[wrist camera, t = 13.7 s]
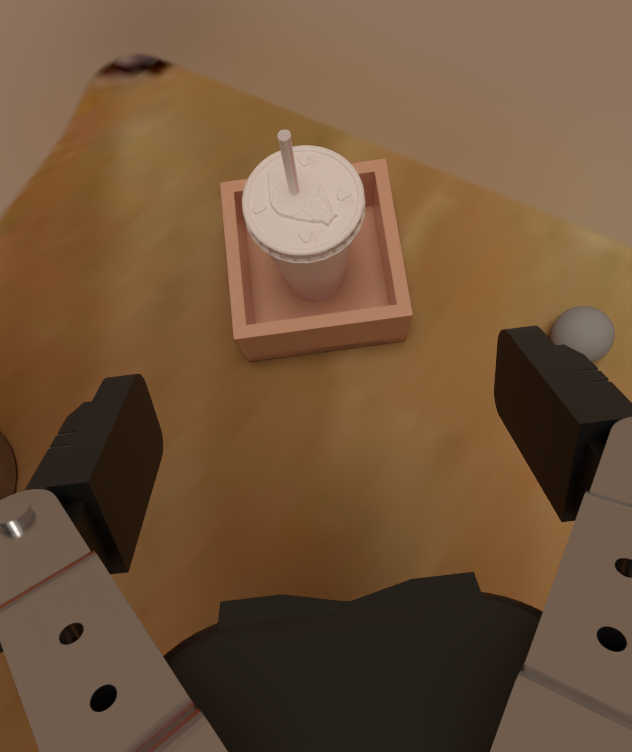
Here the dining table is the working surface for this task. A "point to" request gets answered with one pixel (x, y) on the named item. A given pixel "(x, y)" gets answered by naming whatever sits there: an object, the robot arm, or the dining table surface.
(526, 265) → the dining table surface
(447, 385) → the dining table surface
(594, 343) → the ball
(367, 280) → the pink square tray
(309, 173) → the smoothie
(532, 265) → the dining table surface
